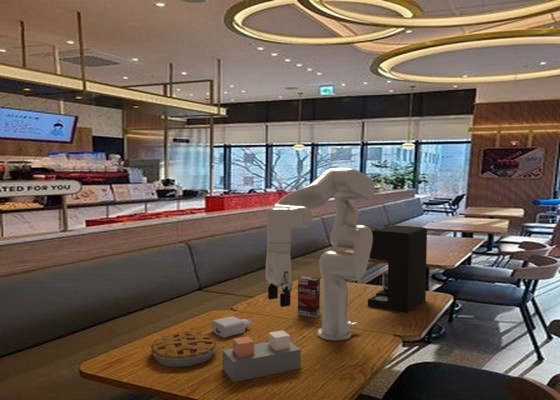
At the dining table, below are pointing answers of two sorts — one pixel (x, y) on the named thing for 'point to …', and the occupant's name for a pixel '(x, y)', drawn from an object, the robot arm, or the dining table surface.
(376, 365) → the dining table surface
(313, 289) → the supplement box
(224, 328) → the charger
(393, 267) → the coffee maker
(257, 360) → the button box
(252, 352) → the terracotta plunger
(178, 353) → the pie
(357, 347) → the dining table surface
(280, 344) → the beige plunger
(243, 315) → the dining table surface
